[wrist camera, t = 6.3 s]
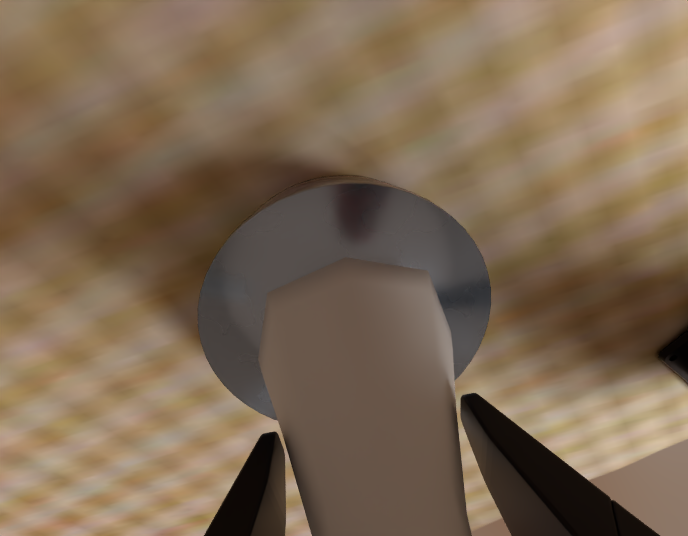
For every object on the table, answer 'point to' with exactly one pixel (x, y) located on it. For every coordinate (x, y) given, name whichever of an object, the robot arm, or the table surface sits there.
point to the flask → (367, 400)
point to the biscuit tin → (324, 249)
